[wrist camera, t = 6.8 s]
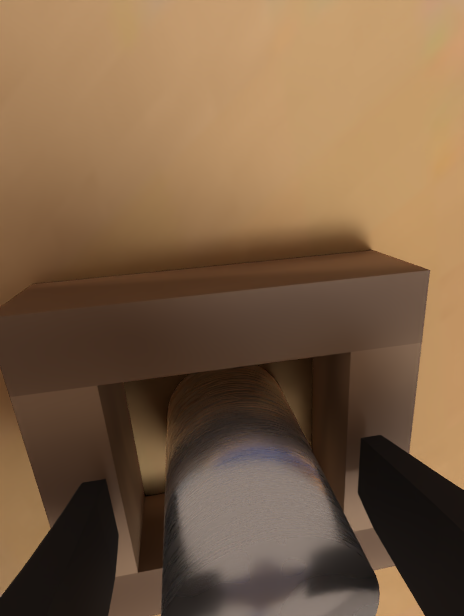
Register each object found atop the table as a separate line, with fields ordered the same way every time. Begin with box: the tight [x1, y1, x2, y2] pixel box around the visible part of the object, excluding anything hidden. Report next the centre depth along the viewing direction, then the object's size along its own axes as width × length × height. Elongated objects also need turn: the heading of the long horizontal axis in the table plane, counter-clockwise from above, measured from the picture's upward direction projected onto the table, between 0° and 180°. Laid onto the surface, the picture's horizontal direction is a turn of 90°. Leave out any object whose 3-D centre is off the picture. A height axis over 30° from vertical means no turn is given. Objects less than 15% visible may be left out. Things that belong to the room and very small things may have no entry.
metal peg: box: [161, 365, 380, 616], centre depth 11 cm, size 4×4×7 cm
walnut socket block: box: [0, 250, 430, 616], centre depth 12 cm, size 11×11×3 cm
